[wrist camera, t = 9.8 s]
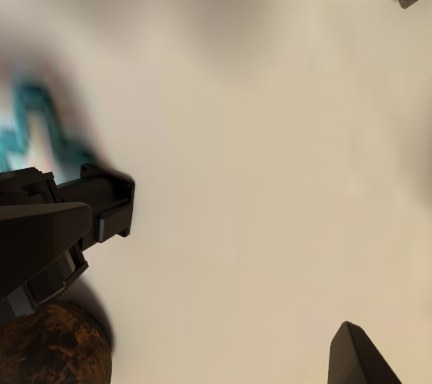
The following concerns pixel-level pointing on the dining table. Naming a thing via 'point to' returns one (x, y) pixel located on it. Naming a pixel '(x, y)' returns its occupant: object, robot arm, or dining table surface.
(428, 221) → the dining table surface
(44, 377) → the brown vase
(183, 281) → the dining table surface
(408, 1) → the vise
